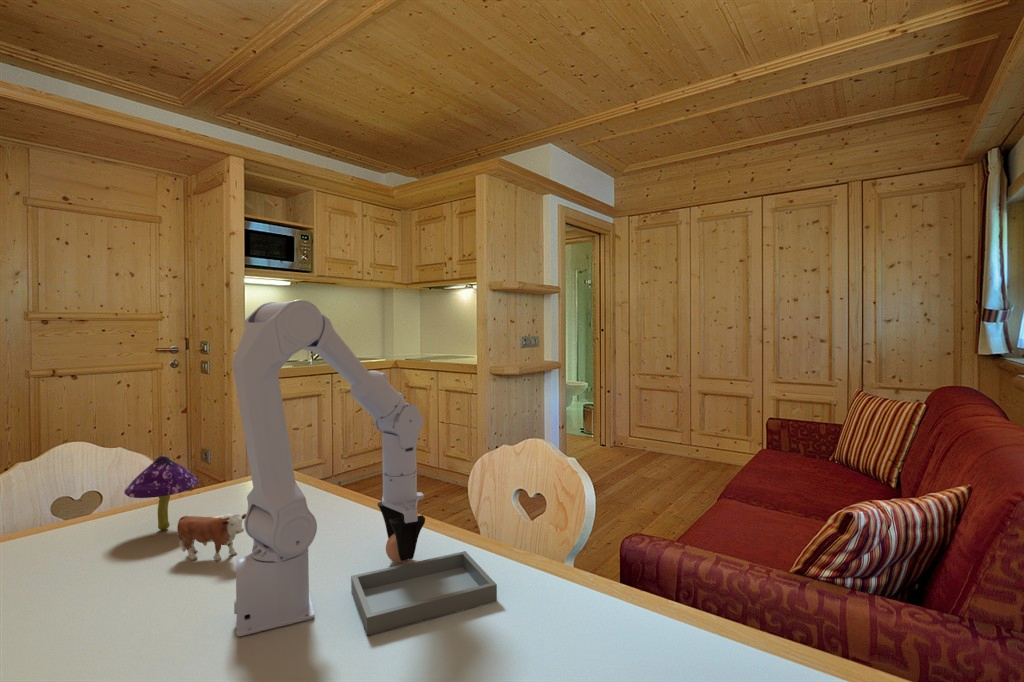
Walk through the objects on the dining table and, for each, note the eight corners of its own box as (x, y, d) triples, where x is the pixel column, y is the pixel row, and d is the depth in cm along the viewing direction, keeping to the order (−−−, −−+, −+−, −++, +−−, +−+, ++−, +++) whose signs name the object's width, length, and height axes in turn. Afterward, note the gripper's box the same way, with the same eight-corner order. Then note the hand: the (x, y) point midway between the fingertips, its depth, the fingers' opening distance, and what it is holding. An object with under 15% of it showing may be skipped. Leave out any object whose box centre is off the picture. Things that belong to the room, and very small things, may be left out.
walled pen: (367, 636, 66) (367, 617, 66) (351, 592, 77) (351, 575, 77) (496, 601, 74) (496, 584, 74) (465, 565, 86) (465, 551, 86)
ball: (389, 570, 84) (389, 540, 84) (383, 558, 89) (382, 530, 88) (419, 564, 86) (418, 535, 86) (411, 552, 91) (410, 525, 91)
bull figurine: (238, 566, 86) (237, 518, 86) (171, 559, 89) (170, 513, 89) (256, 554, 90) (255, 509, 90) (191, 548, 93) (190, 504, 93)
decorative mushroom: (181, 540, 97) (179, 462, 96) (109, 544, 95) (107, 465, 95) (211, 516, 109) (209, 447, 109) (148, 519, 108) (146, 449, 107)
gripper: (435, 479, 82) (436, 562, 83) (411, 459, 95) (412, 530, 96) (391, 485, 79) (393, 571, 80) (373, 464, 92) (374, 537, 93)
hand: (400, 549), depth 87 cm, fingers open, 7 cm apart
